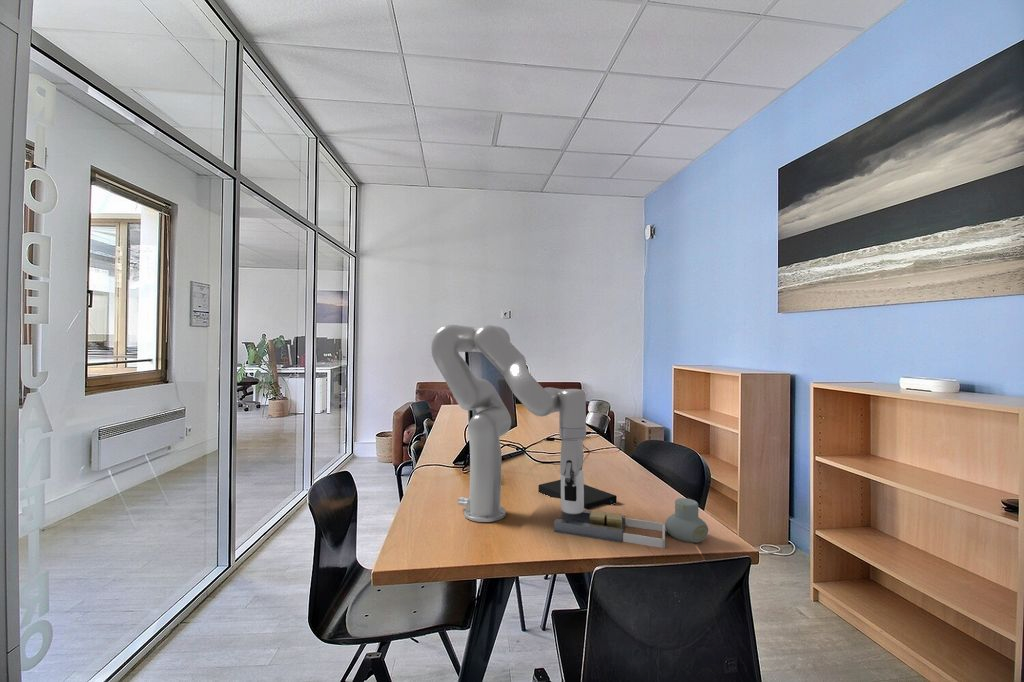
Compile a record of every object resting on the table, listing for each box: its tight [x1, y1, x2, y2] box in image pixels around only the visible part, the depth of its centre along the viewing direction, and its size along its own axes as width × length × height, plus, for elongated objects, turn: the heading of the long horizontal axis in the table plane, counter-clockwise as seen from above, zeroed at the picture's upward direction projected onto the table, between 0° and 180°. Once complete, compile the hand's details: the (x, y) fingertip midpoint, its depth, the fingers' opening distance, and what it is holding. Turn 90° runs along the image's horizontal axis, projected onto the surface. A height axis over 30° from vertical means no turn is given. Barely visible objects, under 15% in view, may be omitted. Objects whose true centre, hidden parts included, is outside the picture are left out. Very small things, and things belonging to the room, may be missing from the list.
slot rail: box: [553, 509, 627, 544], centre depth 119 cm, size 18×13×4 cm
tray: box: [622, 517, 666, 549], centre depth 115 cm, size 10×11×3 cm
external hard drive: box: [538, 479, 618, 510], centre depth 147 cm, size 14×23×3 cm, turn 37°
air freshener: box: [664, 497, 709, 544], centre depth 116 cm, size 11×8×10 cm
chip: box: [605, 512, 622, 529], centre depth 117 cm, size 4×4×4 cm
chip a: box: [590, 510, 607, 526], centre depth 119 cm, size 4×4×4 cm
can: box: [560, 468, 585, 514], centre depth 121 cm, size 6×6×12 cm
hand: (573, 495), depth 121 cm, fingers closed on can, 6 cm apart
